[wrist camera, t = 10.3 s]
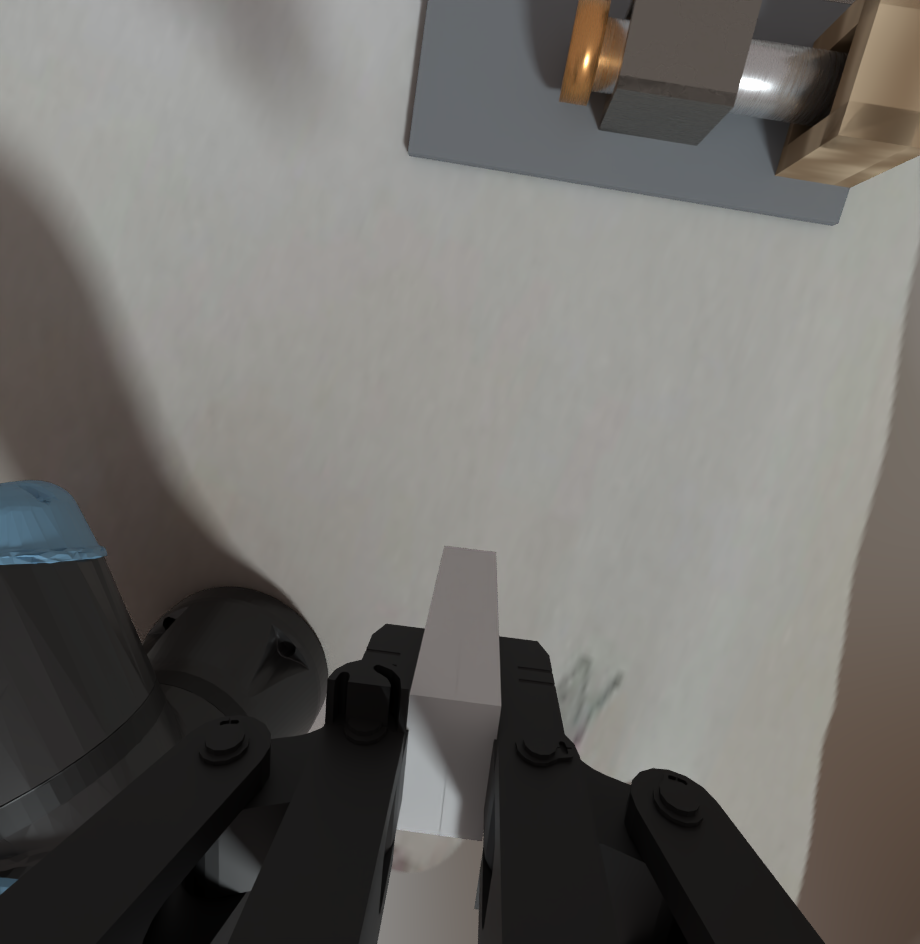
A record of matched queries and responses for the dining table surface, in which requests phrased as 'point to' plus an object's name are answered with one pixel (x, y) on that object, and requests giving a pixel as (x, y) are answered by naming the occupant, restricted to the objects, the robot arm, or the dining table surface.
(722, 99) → the sleeve
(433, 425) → the dining table surface
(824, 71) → the sliding bolt
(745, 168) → the base mat
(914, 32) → the socket block
